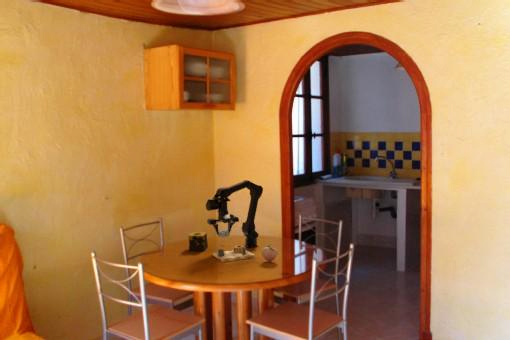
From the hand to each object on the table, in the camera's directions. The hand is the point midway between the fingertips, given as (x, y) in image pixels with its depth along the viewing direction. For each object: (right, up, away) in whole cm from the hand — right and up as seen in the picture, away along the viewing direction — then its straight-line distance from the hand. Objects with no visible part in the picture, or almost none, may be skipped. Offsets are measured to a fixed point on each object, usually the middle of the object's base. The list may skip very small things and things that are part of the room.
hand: (223, 234), depth 301 cm
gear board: (+7, -12, -11) cm, 17 cm away
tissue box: (-16, -11, +8) cm, 21 cm away
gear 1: (0, -1, 0) cm, 1 cm away
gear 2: (+10, -10, -6) cm, 15 cm away
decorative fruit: (+27, -13, -24) cm, 39 cm away
